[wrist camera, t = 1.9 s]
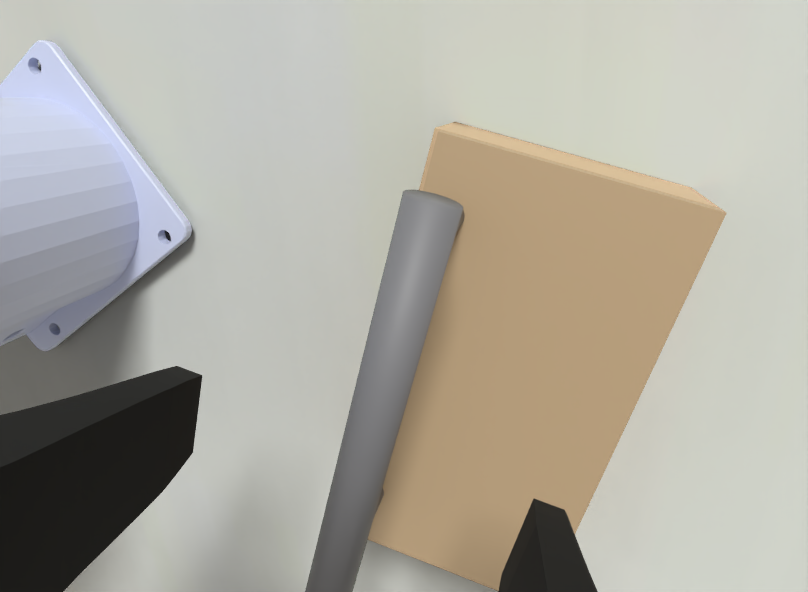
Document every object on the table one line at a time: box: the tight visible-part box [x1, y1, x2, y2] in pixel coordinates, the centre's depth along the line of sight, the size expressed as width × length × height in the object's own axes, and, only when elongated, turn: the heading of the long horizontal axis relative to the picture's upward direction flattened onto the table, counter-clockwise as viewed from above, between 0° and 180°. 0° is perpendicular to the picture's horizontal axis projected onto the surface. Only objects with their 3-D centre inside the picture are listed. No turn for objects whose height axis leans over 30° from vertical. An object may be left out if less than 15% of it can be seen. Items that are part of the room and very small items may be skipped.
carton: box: [419, 122, 719, 208], centre depth 18 cm, size 7×13×3 cm, turn 166°
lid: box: [305, 130, 726, 592], centre depth 14 cm, size 7×13×4 cm, turn 166°
